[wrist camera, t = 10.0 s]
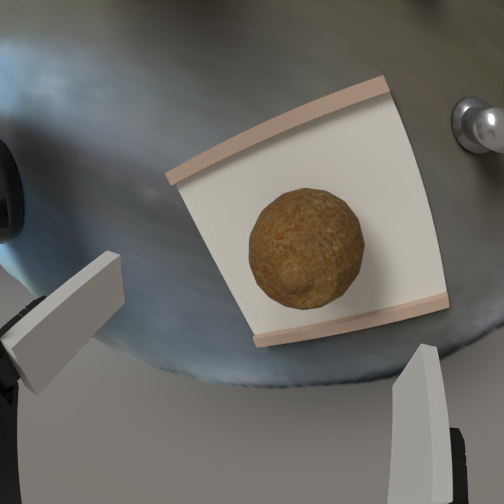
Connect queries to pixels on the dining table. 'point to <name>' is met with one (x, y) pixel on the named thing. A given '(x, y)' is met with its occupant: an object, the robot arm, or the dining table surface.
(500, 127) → the pins
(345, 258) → the fruit
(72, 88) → the dining table surface
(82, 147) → the dining table surface
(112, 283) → the robot arm
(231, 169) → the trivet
